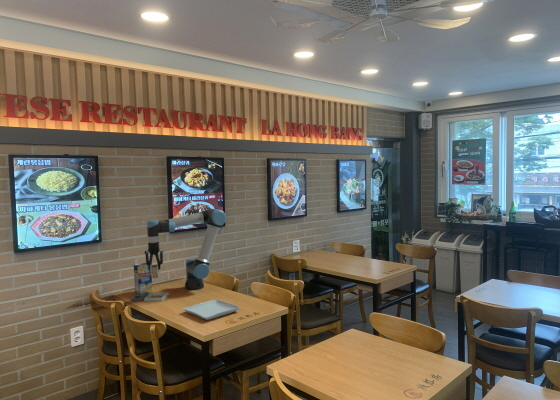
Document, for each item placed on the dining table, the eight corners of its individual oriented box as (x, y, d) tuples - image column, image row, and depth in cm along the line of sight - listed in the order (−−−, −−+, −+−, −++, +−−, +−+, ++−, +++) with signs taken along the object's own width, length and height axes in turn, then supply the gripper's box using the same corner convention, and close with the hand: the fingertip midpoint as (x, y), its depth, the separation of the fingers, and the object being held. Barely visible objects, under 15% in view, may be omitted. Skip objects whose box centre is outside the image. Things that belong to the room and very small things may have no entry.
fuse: (146, 295, 302) (145, 283, 302) (144, 296, 298) (143, 284, 298) (141, 295, 303) (140, 283, 302) (138, 297, 299) (138, 284, 298)
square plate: (241, 312, 262) (241, 306, 262) (205, 323, 243) (205, 317, 243) (216, 303, 281) (216, 298, 281) (182, 313, 262) (181, 307, 262)
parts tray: (168, 296, 300) (168, 292, 300) (162, 301, 287) (162, 298, 287) (151, 296, 301) (151, 293, 301) (144, 301, 288) (143, 298, 288)
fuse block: (149, 295, 304) (149, 292, 304) (140, 302, 288) (140, 298, 288) (140, 295, 304) (139, 292, 304) (131, 302, 289) (130, 298, 289)
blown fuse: (159, 276, 295) (158, 264, 295) (157, 278, 291) (156, 265, 291) (153, 276, 296) (153, 264, 295) (151, 278, 292) (150, 265, 291)
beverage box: (134, 293, 311) (133, 264, 310) (148, 290, 319) (147, 262, 317) (138, 294, 306) (137, 266, 305) (152, 291, 314) (151, 263, 312)
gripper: (166, 240, 295) (168, 272, 296) (144, 241, 296) (145, 272, 298) (163, 242, 287) (164, 275, 289) (139, 243, 289) (141, 275, 290)
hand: (155, 273), depth 293 cm, fingers closed on blown fuse, 4 cm apart
